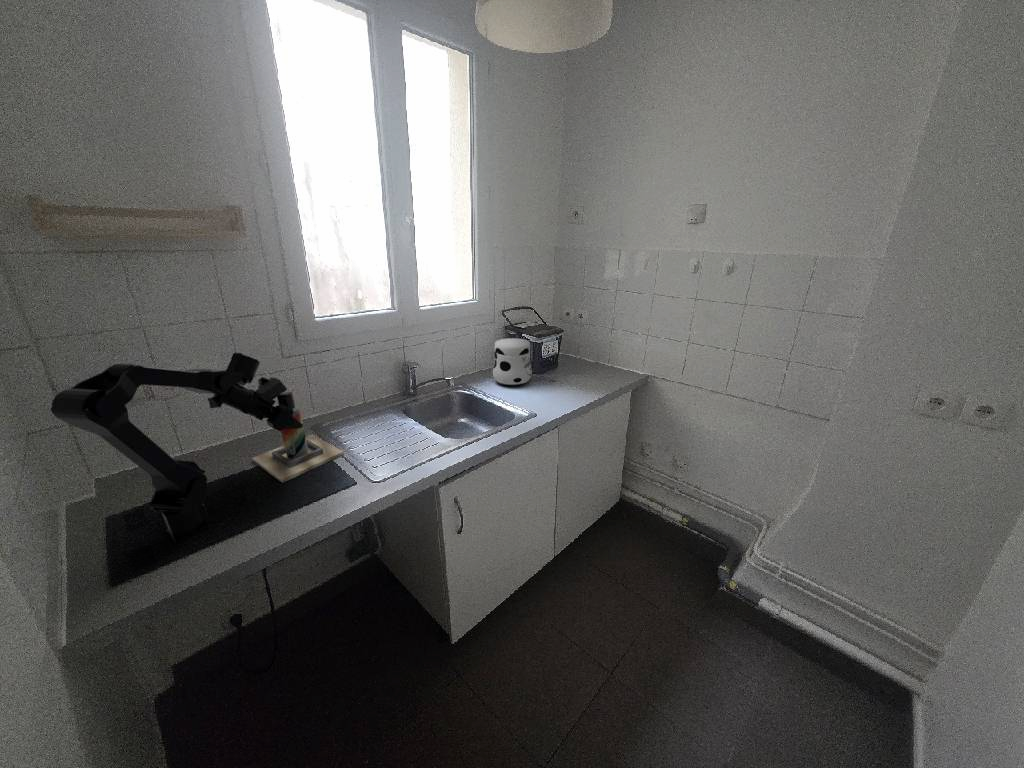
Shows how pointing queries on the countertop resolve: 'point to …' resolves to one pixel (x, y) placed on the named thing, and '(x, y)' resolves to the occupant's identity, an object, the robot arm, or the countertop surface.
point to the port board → (297, 459)
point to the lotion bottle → (293, 430)
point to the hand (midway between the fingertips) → (294, 422)
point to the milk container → (512, 362)
